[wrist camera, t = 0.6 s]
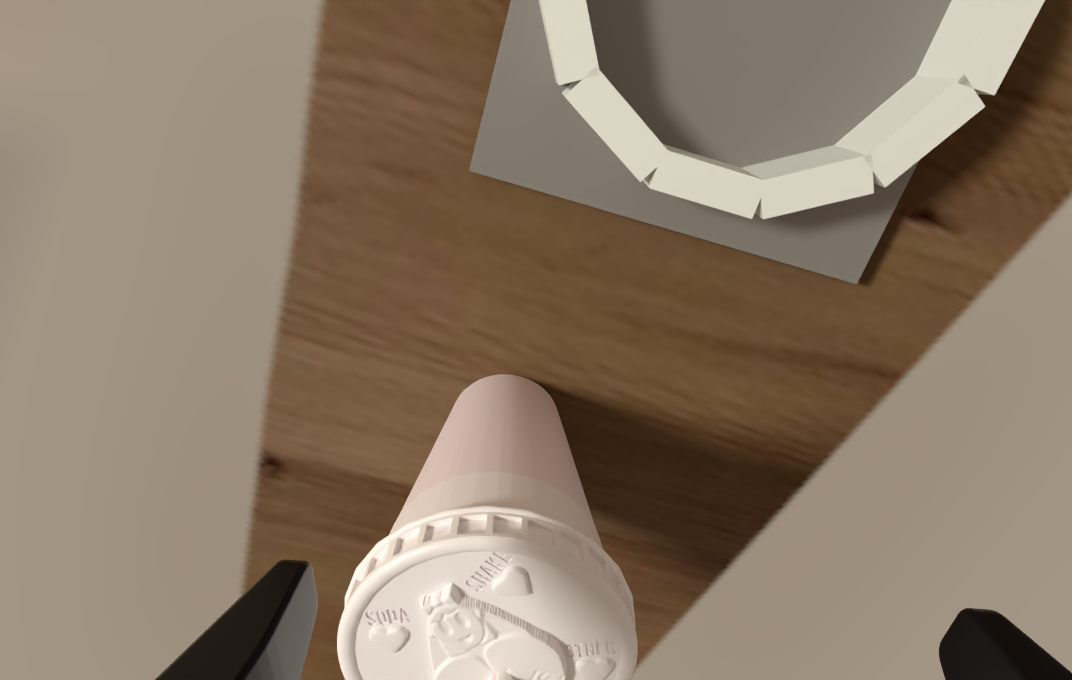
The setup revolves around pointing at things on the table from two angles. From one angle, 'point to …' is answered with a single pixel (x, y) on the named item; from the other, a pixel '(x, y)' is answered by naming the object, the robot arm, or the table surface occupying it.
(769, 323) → the table surface
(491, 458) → the smoothie
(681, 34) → the socket board
